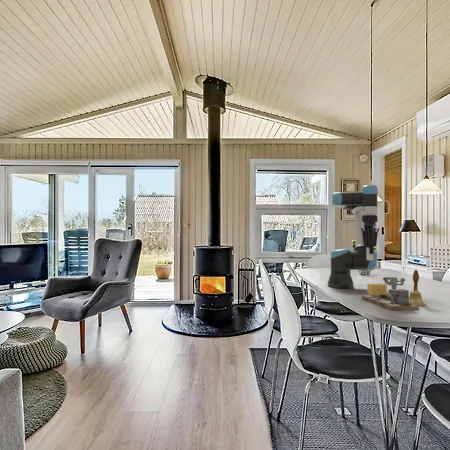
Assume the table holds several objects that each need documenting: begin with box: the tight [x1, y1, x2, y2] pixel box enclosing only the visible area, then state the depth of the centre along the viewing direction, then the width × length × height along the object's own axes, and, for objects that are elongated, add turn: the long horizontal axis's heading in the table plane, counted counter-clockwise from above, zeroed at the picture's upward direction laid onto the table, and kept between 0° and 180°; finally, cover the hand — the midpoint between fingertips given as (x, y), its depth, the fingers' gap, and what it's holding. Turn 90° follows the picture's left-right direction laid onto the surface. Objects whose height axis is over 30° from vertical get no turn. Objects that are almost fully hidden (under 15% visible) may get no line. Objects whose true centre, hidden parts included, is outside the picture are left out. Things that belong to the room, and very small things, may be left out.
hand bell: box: [409, 269, 427, 306], centre depth 156 cm, size 8×8×16 cm
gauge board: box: [361, 288, 420, 311], centre depth 156 cm, size 24×13×8 cm, turn 8°
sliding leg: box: [367, 282, 388, 296], centre depth 163 cm, size 4×8×6 cm, turn 98°
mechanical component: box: [382, 276, 406, 297], centre depth 172 cm, size 3×10×10 cm, turn 79°
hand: (369, 260), depth 171 cm, fingers closed
